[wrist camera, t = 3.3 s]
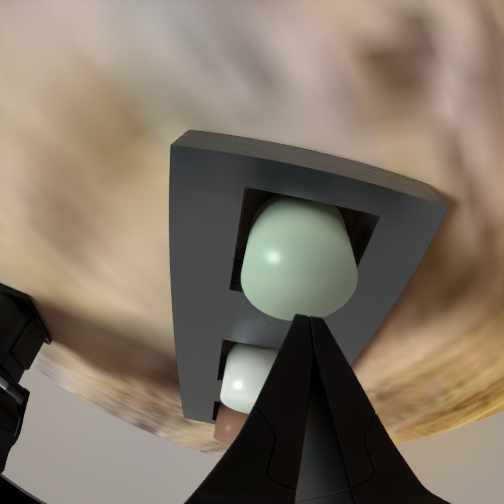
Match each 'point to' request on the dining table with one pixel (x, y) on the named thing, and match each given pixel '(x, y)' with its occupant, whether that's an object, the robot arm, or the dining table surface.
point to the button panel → (229, 270)
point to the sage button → (298, 259)
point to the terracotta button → (228, 424)
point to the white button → (245, 375)
